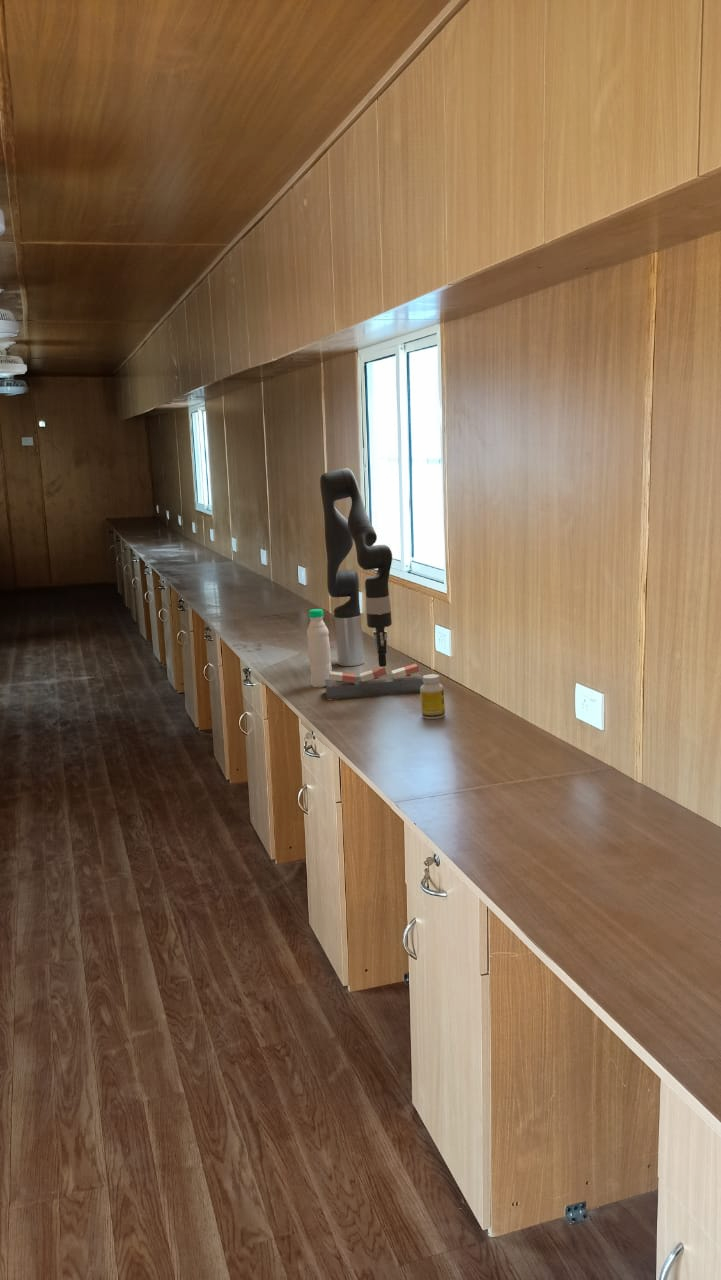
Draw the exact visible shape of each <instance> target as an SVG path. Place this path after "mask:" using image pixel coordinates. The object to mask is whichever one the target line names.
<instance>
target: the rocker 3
mask: <svg viewBox="0 0 721 1280" xmlns="http://www.w3.org/2000/svg"><path fill="white" fill-rule="evenodd" d="M419 671H420V669H419V666H418V665H417V663H413V664H409V665H407V666H403V667H399V668H395V669H393V670H391V674H392V675H393V677H394V679H396V678H400V677H403V676H406V675H410V674H413V673H416V672H419Z"/></svg>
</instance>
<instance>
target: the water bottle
mask: <svg viewBox="0 0 721 1280" xmlns="http://www.w3.org/2000/svg"><path fill="white" fill-rule="evenodd" d="M308 616H309V617H308V618H309V619H310V623H309V624H308V627H307V629H306V630H307V631H306V636H307V649H308V659H309V664H310V665H309V672H310V684H311V686H312V687H313V686H315V687H314V688H326V687H325V686H326V684H325V680H328V679H329V671H333V669H332V663H331V646H330V645H331V644H330V638H329V629H328V627H327V625H326V623H325V621H324V620H323V618H324V610H323V609H322V608H313V609H310V610H308Z"/></svg>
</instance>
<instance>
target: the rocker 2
mask: <svg viewBox="0 0 721 1280" xmlns="http://www.w3.org/2000/svg"><path fill="white" fill-rule="evenodd" d="M385 667H386V666H384V667H380V666H379V667H377V668H373V669H371V670H370V669H369V670H368V671H363V672H361V673H359V677H360V678H361V681H362V682H364V681H367V680H370V679H374V678H377V677H380V676H384V675H387V674H388V673H387V671H386V668H385Z"/></svg>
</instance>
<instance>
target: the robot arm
mask: <svg viewBox="0 0 721 1280" xmlns="http://www.w3.org/2000/svg"><path fill="white" fill-rule="evenodd" d="M319 483H320V485H319V486H320V494H321V500H322V508H323V515H324V516H323V517H324V538H325V539H324V541H325V550H326V560H327V561H326V562H327V564H326V565H327V570H326V571H327V573H326V574H327V575H326V579H327V580H326V581H327V583H326V584H327V585H326V586H327V591H328V594H329V595H330V597H332V598H344V597H345V598H347V597H349V599H348V600H347V601H346V602H345V603H343V604H341V605H339V606H337V607H335V608H334V609H333V615H334V617H333V618H334V629H335V641H336V642H335V643H336V652H337V663H338V664H339V665H338V666H340V665H341V667H353V666H354V667H355V666H360V665H363V664H364V663H365V658H364V657H365V656H364V642H363V632H362V631H363V629H362V617H361V607H360V606H361V605H360V584H359V583H360V580H359V575H358V572H357V571H356V570H355V569H345V570H339V568H340V565H341V564H342V562H344V560H345V559H346V558H347V556H348V555H349V553H350V552H351V551H352V548H353V546H354V545H355V550H356V561H357V564H358V566H359V567H360V568H361V569H362V570H365V571H369V570H377V571H376V574H374V575H372V576H369V577H368V578H366V579H365V581H364V587H365V611H366V624H367V627H368V628H371V629H375V631H373V638H374V644H375V648H376V653H377V656H378V657H377V659H378V666H379V668H380V667H386V666H387V652H388V651H387V647H388V632H387V631H386V630H385V628H389V627H390V626H392V623H393V621H392V611H391V610H392V607H391V600H390V591H389V579H390V574H391V573H390V572H391V571H390V570H391V567H392V564H393V563H392V562H393V554H392V549H391V548H390V547H389V546H388V544H387V545H386V544H376V545H374V544H375V543H376V542H377V540H378V538H377V537H378V536H377V534H376V533H377V532H376V531H375V528H374V527H373V524H372V522H371V520H370V519H369V516H368V513H367V511H366V507H365V503H364V500H363V497H362V493H361V490H360V487H359V484H358V481H357V479H356V477H355V474H354V473H353V471H352V470H351V468H347V467H345V468H340V469H336V470H332V471H327V472H325V473H323V474H321V476H320V479H319ZM348 498H350V499H351V506H350V510H349V513H348V517H347V518H346V517H345V516H344V515H342V513H341V512H340V511H339V510H338V509H337V508H336V506H335V502H336V501H339V500H343V499H348Z"/></svg>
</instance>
